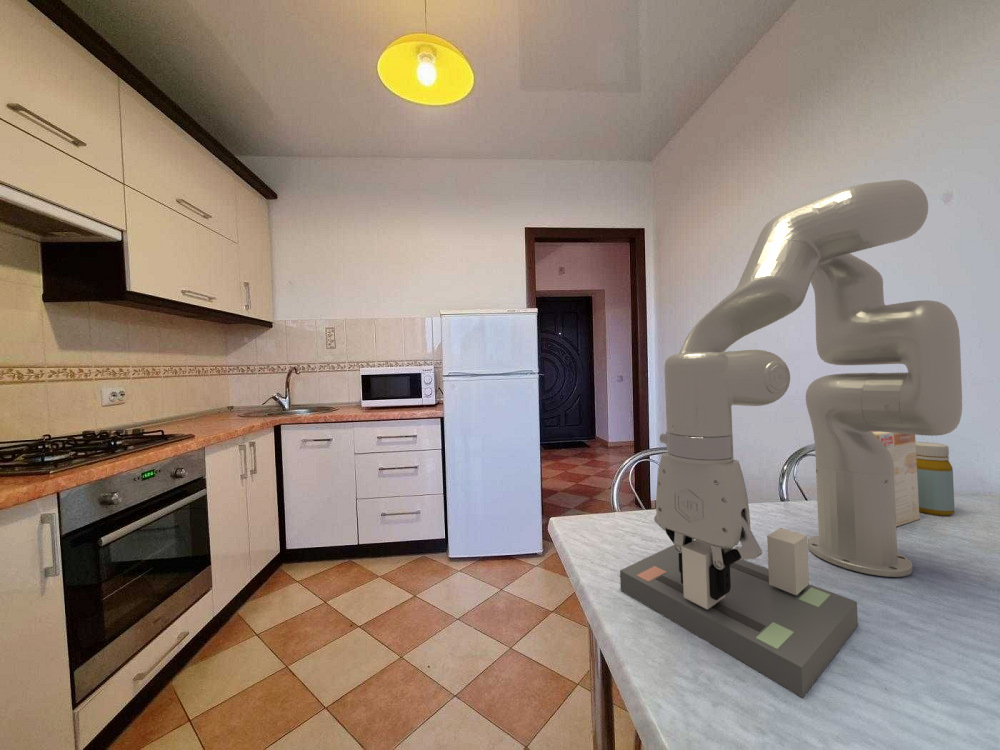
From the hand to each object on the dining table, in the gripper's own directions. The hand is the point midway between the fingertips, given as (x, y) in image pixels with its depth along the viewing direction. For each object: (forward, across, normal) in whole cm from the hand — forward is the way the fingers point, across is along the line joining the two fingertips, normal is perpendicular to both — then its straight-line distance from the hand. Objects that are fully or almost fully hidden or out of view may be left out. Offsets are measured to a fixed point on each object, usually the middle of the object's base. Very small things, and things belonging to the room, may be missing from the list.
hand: (704, 586), depth 46 cm
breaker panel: (+5, 0, +6) cm, 8 cm away
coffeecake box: (+5, +4, +62) cm, 62 cm away
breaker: (+1, +5, +12) cm, 13 cm away
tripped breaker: (+1, 0, 0) cm, 1 cm away
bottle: (+5, +9, +77) cm, 78 cm away
